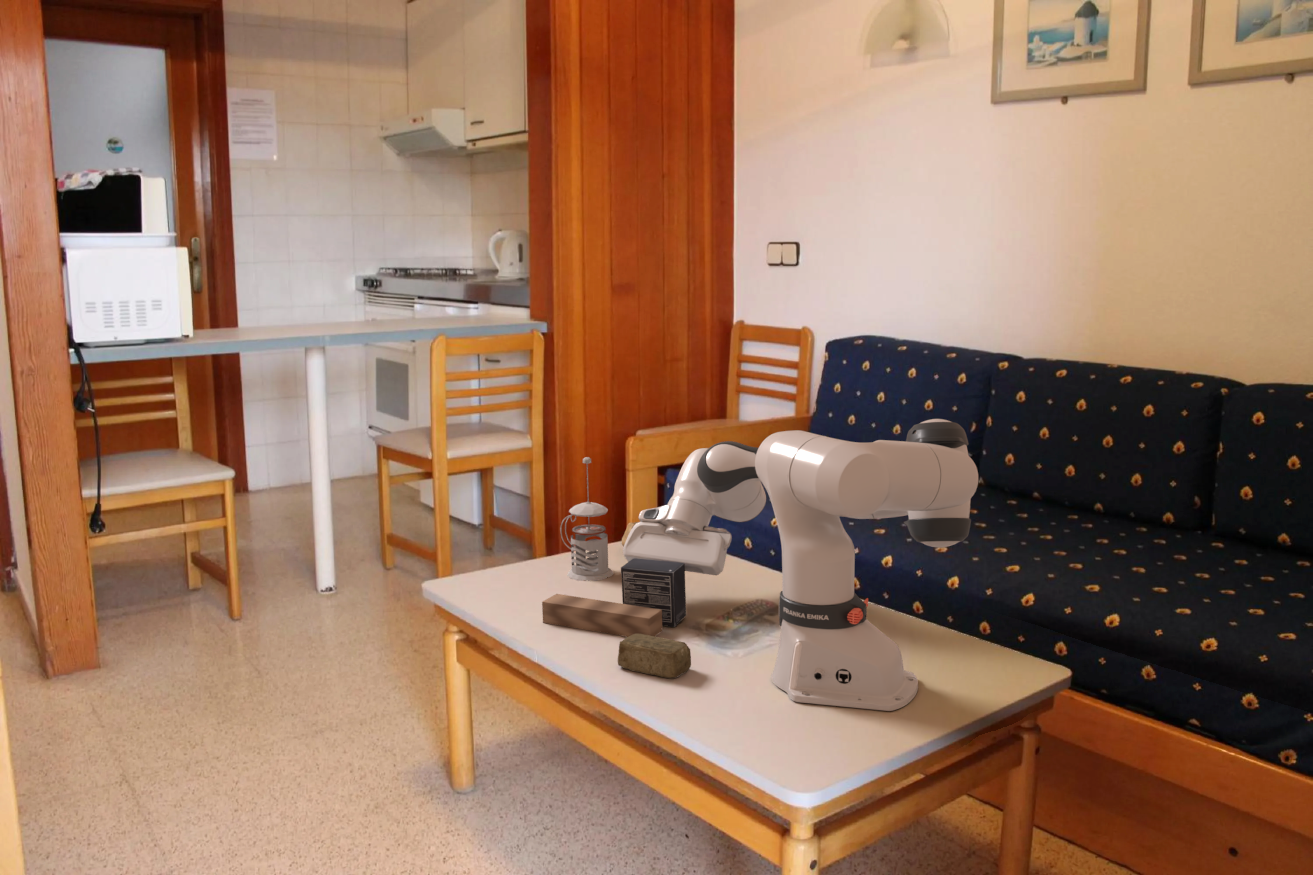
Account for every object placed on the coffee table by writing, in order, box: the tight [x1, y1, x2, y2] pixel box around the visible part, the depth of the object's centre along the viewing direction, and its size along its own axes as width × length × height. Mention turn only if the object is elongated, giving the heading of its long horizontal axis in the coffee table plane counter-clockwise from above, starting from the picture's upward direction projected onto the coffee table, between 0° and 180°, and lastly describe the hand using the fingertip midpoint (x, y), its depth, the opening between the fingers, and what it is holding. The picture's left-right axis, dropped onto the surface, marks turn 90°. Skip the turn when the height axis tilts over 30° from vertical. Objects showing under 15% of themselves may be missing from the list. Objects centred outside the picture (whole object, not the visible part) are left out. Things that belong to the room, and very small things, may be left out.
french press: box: [559, 456, 614, 582], centre depth 225 cm, size 10×12×25 cm
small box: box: [620, 558, 687, 628], centre depth 197 cm, size 11×6×10 cm, turn 68°
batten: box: [541, 593, 663, 638], centre depth 194 cm, size 22×5×4 cm, turn 63°
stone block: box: [617, 634, 692, 679], centre depth 175 cm, size 6×12×5 cm, turn 60°
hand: (662, 587), depth 201 cm, fingers closed
